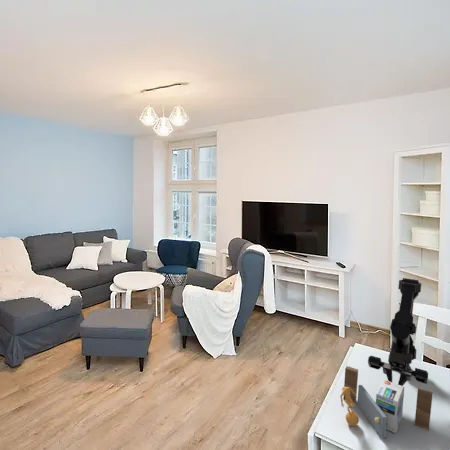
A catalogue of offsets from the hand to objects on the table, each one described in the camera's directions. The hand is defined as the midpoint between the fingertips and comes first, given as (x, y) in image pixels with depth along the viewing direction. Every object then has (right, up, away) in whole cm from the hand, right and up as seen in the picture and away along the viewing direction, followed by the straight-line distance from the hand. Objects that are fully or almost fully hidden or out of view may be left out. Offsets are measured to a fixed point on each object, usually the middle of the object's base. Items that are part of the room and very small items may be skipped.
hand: (393, 393), depth 111 cm
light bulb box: (-4, -7, -4) cm, 9 cm away
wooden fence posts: (-3, -6, 0) cm, 7 cm away
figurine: (-17, -7, -5) cm, 19 cm away
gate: (-11, -6, -4) cm, 13 cm away
